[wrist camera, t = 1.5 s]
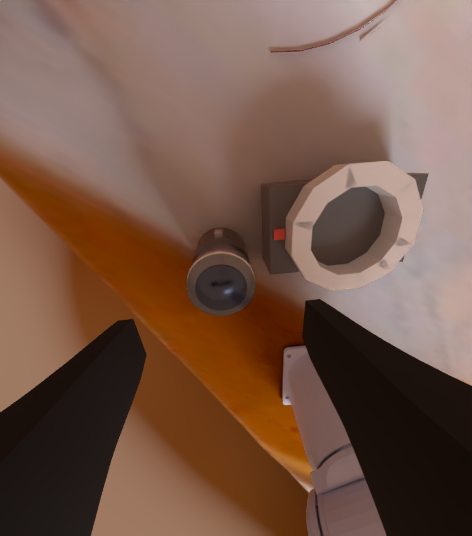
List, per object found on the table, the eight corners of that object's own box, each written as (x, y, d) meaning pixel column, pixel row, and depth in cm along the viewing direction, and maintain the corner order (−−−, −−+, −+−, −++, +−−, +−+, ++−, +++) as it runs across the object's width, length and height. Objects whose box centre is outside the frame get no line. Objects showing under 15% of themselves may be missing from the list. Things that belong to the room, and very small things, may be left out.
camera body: (382, 256, 19) (426, 281, 15) (263, 268, 18) (274, 296, 14) (406, 157, 15) (473, 153, 11) (260, 169, 15) (275, 170, 11)
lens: (246, 270, 19) (257, 314, 13) (200, 275, 18) (191, 321, 13) (244, 224, 17) (255, 251, 11) (192, 228, 17) (178, 258, 11)
